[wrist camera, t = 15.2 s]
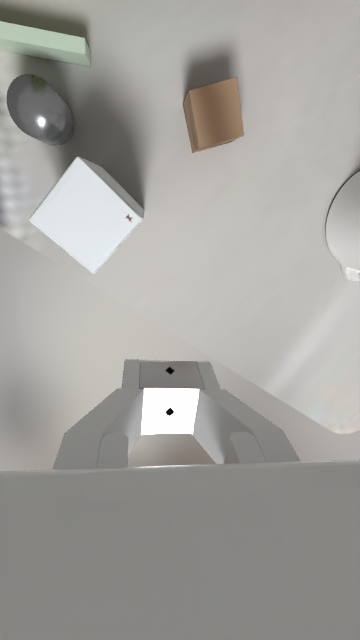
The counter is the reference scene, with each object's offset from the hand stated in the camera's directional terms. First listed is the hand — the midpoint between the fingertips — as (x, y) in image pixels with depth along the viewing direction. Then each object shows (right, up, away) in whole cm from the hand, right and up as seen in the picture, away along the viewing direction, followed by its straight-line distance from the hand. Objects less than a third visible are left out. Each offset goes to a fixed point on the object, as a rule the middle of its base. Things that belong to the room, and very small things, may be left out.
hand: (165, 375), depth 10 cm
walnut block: (+4, +26, +23) cm, 35 cm away
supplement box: (-9, +16, +26) cm, 32 cm away
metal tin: (-14, +25, +21) cm, 35 cm away
